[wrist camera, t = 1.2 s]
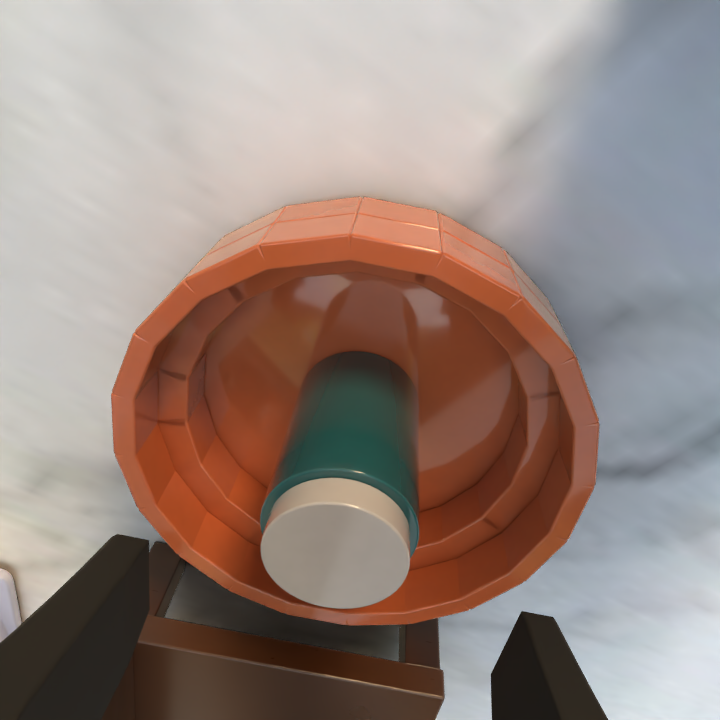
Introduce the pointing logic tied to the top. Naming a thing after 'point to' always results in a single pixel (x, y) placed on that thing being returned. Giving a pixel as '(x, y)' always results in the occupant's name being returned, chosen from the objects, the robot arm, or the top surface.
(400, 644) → the chair
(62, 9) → the top surface
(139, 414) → the bowl
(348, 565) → the salt shaker
